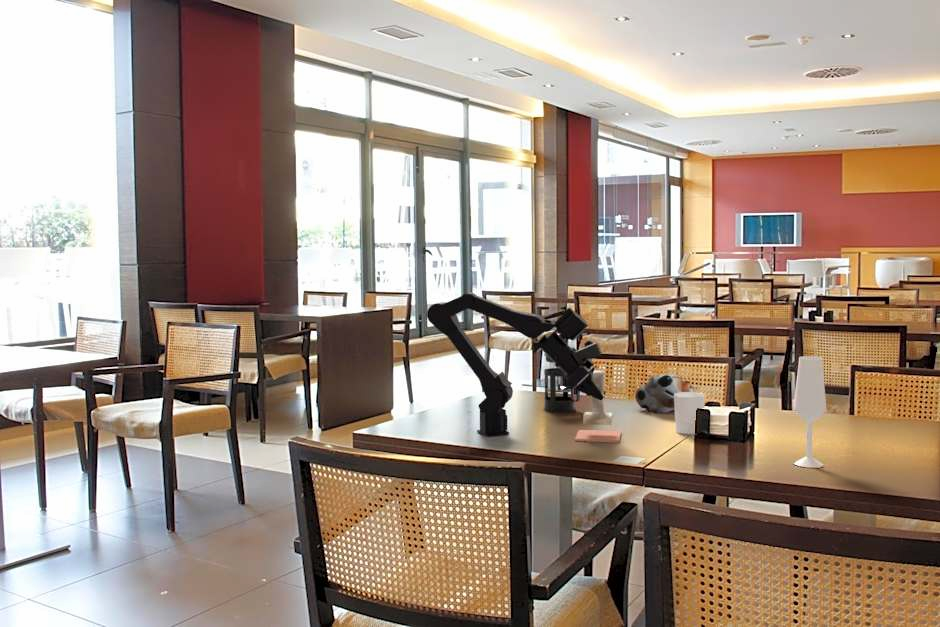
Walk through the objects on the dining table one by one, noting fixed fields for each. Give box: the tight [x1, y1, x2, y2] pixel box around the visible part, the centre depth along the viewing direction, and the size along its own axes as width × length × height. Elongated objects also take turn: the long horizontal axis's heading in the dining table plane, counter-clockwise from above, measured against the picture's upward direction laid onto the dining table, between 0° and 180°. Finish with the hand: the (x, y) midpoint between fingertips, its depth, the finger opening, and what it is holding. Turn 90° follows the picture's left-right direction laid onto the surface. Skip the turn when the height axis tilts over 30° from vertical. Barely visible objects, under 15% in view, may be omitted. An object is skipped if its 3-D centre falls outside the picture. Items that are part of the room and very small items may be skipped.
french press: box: [543, 332, 581, 413], centre depth 266 cm, size 12×9×23 cm
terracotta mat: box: [574, 429, 622, 444], centre depth 228 cm, size 11×11×1 cm
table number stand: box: [582, 369, 613, 426], centre depth 227 cm, size 7×6×13 cm
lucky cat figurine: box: [634, 373, 695, 414], centre depth 262 cm, size 15×12×14 cm
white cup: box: [674, 392, 706, 436], centre depth 232 cm, size 8×8×10 cm
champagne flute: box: [793, 355, 827, 467], centre depth 196 cm, size 7×7×24 cm
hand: (603, 396), depth 227 cm, fingers closed on table number stand, 6 cm apart
